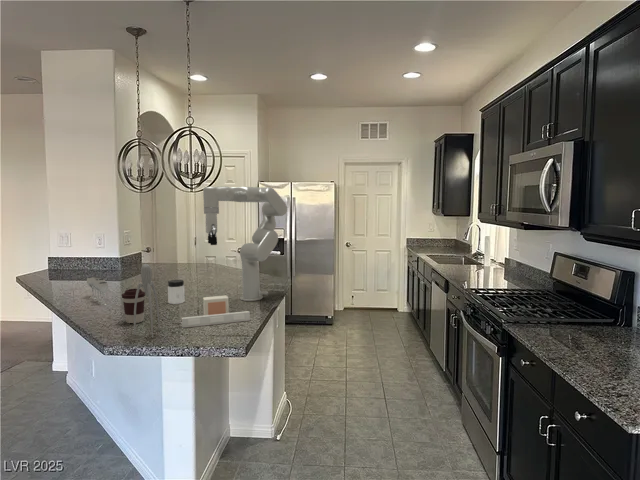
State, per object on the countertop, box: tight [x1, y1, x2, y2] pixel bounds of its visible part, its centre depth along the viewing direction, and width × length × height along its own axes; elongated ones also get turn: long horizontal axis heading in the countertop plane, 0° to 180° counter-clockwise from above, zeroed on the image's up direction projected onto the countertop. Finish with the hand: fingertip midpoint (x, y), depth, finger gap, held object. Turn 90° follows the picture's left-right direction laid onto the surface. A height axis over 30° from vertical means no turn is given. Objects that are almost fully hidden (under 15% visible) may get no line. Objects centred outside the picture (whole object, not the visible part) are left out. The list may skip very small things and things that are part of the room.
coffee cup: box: [121, 288, 146, 324], centre depth 202 cm, size 10×10×15 cm
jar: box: [167, 279, 186, 305], centre depth 240 cm, size 9×8×12 cm
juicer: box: [133, 263, 161, 339], centre depth 181 cm, size 10×9×30 cm
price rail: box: [181, 310, 251, 329], centre depth 198 cm, size 30×2×4 cm, turn 111°
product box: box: [202, 294, 230, 316], centre depth 206 cm, size 6×11×10 cm, turn 111°
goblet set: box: [86, 275, 109, 306], centre depth 246 cm, size 28×6×13 cm, turn 41°
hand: (212, 244), depth 225 cm, fingers open, 9 cm apart
